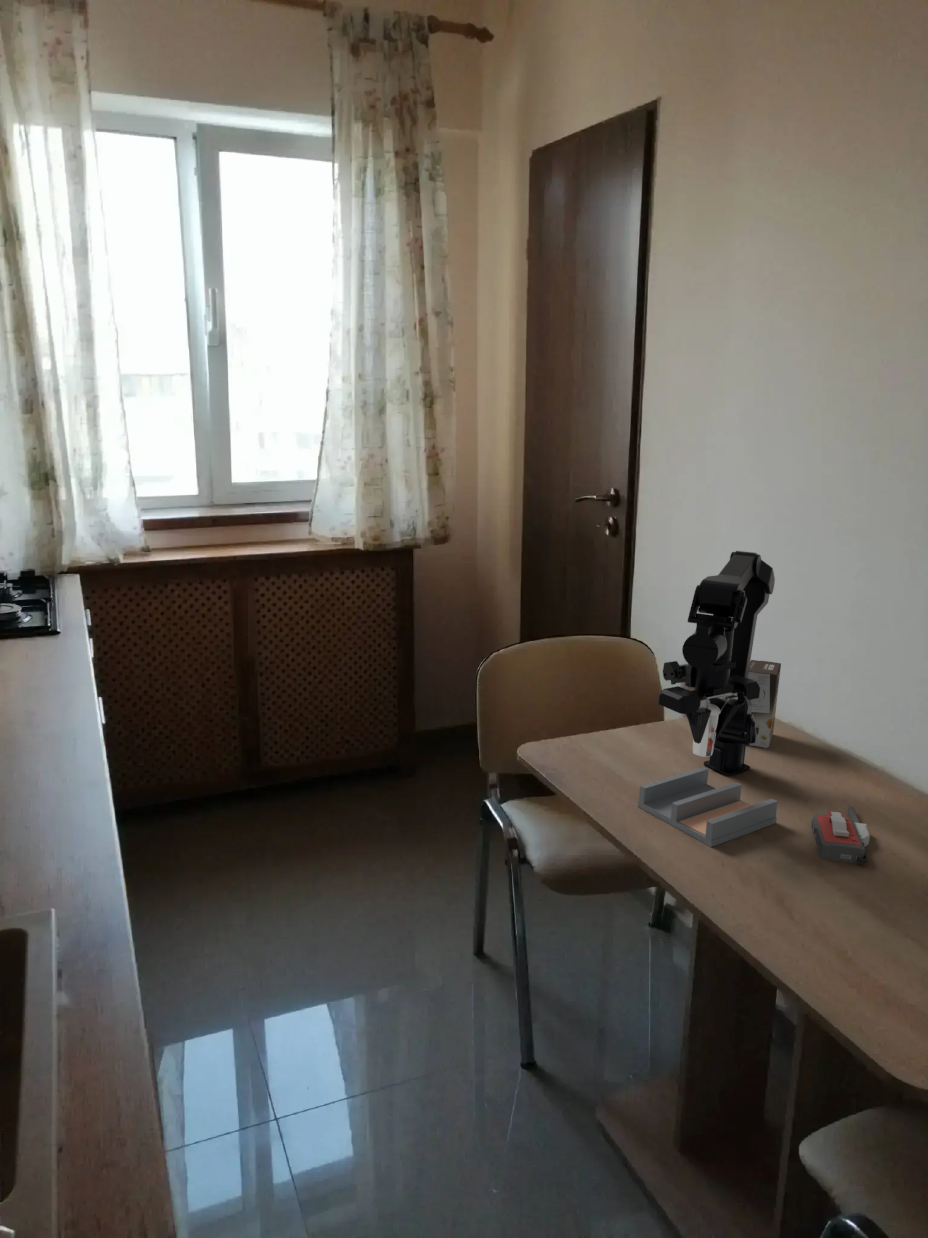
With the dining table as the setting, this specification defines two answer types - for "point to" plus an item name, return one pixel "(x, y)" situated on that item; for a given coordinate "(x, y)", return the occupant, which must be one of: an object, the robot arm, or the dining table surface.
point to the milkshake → (708, 733)
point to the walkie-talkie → (841, 837)
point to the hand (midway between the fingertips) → (705, 740)
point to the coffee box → (764, 699)
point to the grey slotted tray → (705, 807)
